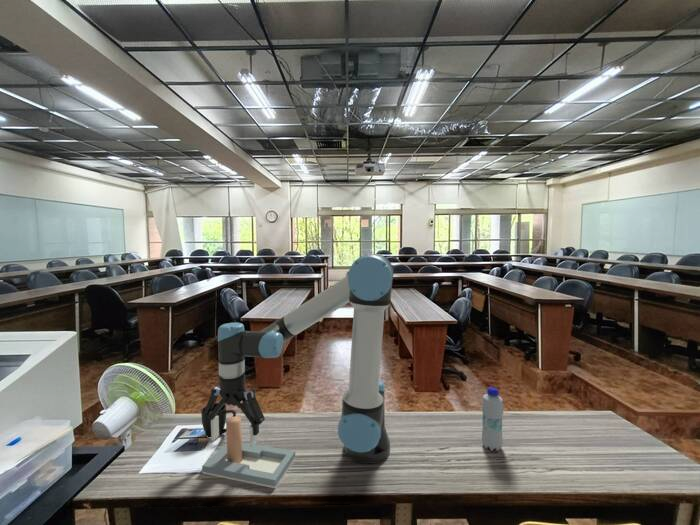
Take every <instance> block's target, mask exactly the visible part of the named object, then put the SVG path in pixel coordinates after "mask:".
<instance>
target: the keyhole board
mask: <svg viewBox="0 0 700 525" xmlns="http://www.w3.org/2000/svg"><path fill="white" fill-rule="evenodd" d="M295 460H296V450H290V449H284V448H279V447H273V446H266V445H260V444H255V445H254V446H253V447H250V442H249V443H248V442H243V441H242V462H241V463H236V462H230V461H227V442H226V443H224V444H223V445H222V447H220V448H219V449H218V450H217V451H216V452H215V453H214V454H213V455H212V456H211V457H210V458H209V459H208V460H207V461H205V462H204V463H203V465H202V466H201V467H202V468H201V470H202V472H201V474H203V475H207V476H208V475H209V476H214V477H217V478H223V479H227V480H233V481H237V482H240V483H241V482H243V483H246V484H247V483H248V484H252V485H256V486H262V487H267V488H271V489H277V487H278V486H279V484H280V483H281V481H282V480H283V478H284V477H285V475H286V473H287V472H288V471H289V469H290V467H291V466H292V465H293V463H294V461H295Z"/></svg>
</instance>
